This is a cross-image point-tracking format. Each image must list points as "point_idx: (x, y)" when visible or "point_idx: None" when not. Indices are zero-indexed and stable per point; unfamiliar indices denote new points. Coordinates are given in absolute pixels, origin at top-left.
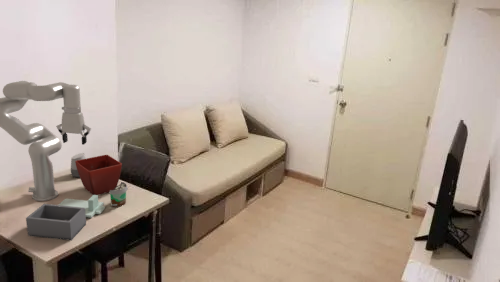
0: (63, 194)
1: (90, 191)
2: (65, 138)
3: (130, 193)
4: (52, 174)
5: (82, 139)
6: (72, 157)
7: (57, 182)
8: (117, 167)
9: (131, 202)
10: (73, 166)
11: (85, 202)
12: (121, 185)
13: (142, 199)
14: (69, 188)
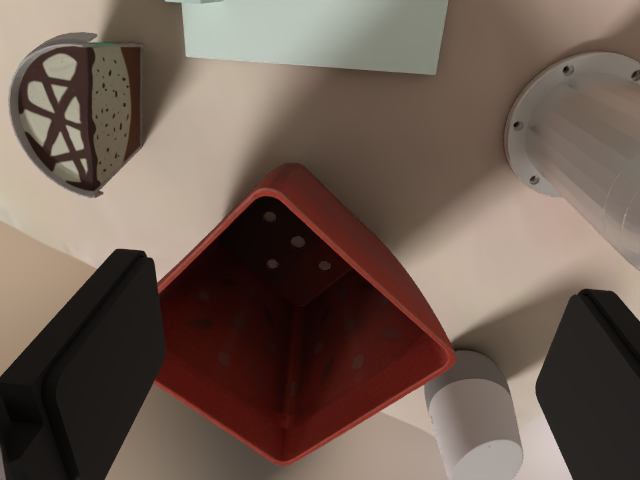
0: (476, 162)
1: (322, 185)
2: (601, 399)
3: (126, 218)
4: (585, 184)
5: (55, 328)
6: (518, 457)
7: (550, 293)
8: None
9: None
10: (493, 396)
11: (292, 35)
12: (72, 160)
13: None
14: (465, 236)
